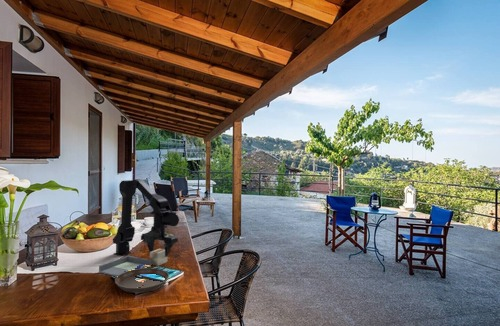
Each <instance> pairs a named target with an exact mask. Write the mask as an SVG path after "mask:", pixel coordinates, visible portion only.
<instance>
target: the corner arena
mask: <svg viewBox="0 0 500 326" xmlns="http://www.w3.org/2000/svg"><path fill="white" fill-rule="evenodd" d="M141 264H146V265H152V260H150V258H149V259H148V258H143V257H136V256H131V255H125V256H123V257H120V258H117V259H115V260H112V261H109V262H106V263H103V264H100V265H99V266H98V267H99V268H98V273H99V274H105V275H109V276H113V277H117V276H119V275H121V274H122V273H125V272H124V271H128V270H132V269H135V268H137V266H139V265H141ZM152 266H153V265H152Z"/></svg>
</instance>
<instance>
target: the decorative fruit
mask: <svg viewBox="0 0 500 326" xmlns="http://www.w3.org/2000/svg"><path fill="white" fill-rule="evenodd" d="M165 233H166V234H167V236H165V237H168V236H174V235H173V234H172V233H168V231H166V232H165ZM158 243H159V245H160V246H161V247H162V248H163V249H165V246H164V244H165V243H164V241H163V240H158ZM174 245H175V244H173V246H174Z"/></svg>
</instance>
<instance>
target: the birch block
mask: <svg viewBox="0 0 500 326" xmlns="http://www.w3.org/2000/svg"><path fill="white" fill-rule="evenodd" d="M149 260H152V264H153V265H152V266H158V267H159V266H160V265H163V264H165V263H166V264H167V263H168V256H167V257H165V248H157V249H155V250H153V251H152V252H149Z"/></svg>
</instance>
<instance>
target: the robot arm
mask: <svg viewBox="0 0 500 326" xmlns="http://www.w3.org/2000/svg"><path fill="white" fill-rule="evenodd" d="M118 189H119V193H120V195H121V198H122V200H121V201H122V203H121V218H120V225H119V226H118V228H117V230H116V234H115V236H114V237H113V238H112V243H113V244H115V252H114V253H113V255H116V256H120V257H121V256H123V257H124V256H127V255H129V254H132V252H131V250H130V249H131V248H130V247H131V245H130V242H132V241H133V239H134V237H135V231H136V230H135V229H136V228H135V226H133V224H132V213H133V197H134V195H135V194H136V193H137V190H138V191H139V192H140V193H141V194H142V195H143V196H144V197H145V198H146V199H147V200H148V201H149V202H148V203H149V206H150V208H151V209H152V211H151V212H150V215H153V225H152V226H151V227H150V228H151V229H150V230H149V231H148V232H144V233H142V234H141V235H140V241H142V243H145V244H146V246H147V248H148V252H149V253H150V252H152V251H154V246H155V241H159V240H163V241H164V243H165V244H164V246H165V248H164V249H165V257H167V258H168V256H169V254H170V251H171V249H172V247H173V246H174V245H175V244H176V243H178V242H179V240H178V239H179V238H178V236H176V235H173V236H168V237H165V236H167V234H166V233H167V232H166V228H168V226H169V227H176V226H178V224H179V222H180V218H179V215H178V214H177V212H176V211H173V209H172V208H171V205H170V203H169V201H168V199H167V198H165V197H164V196H163V195H160V194H157V193H156V191H154V189H152V188H151V187H150V186H149V185H148V183H147V182H145V179H144V178H139V179H138V178H137V179H131V180H130V179H128V180H121V182H119V187H118ZM173 244H174V245H173Z"/></svg>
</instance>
